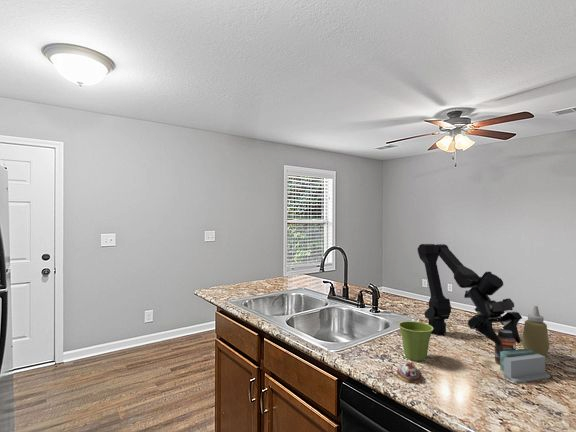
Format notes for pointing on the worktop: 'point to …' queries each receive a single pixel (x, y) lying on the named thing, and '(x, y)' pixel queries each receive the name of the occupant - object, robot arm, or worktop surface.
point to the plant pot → (415, 339)
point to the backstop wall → (525, 368)
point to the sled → (503, 354)
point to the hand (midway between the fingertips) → (510, 343)
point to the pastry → (409, 373)
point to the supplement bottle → (504, 343)
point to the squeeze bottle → (535, 333)
